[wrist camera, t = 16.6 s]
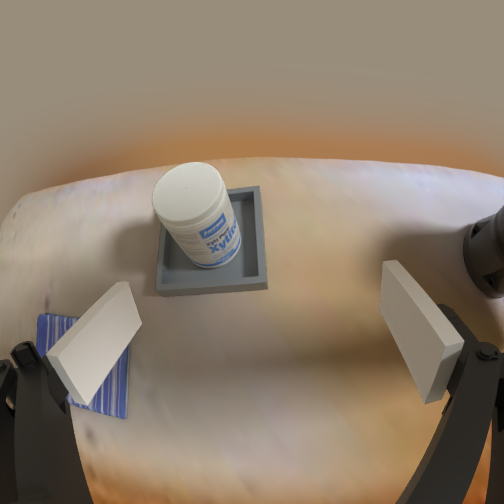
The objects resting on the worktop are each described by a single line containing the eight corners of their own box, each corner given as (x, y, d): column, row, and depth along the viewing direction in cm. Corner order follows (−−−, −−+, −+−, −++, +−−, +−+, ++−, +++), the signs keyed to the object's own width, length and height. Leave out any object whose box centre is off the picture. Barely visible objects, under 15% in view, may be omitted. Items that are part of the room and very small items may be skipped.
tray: (261, 196, 51) (259, 185, 48) (268, 289, 44) (266, 282, 41) (171, 208, 52) (164, 199, 49) (163, 296, 45) (155, 290, 42)
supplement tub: (233, 275, 44) (207, 229, 31) (178, 264, 46) (138, 218, 33) (248, 221, 48) (232, 162, 35) (197, 214, 50) (167, 158, 37)
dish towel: (45, 313, 47) (36, 310, 45) (134, 320, 45) (125, 317, 42) (39, 392, 40) (29, 391, 38) (129, 419, 37) (120, 421, 35)
